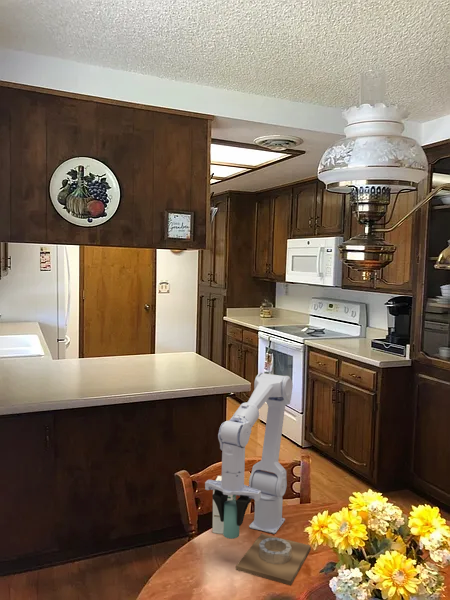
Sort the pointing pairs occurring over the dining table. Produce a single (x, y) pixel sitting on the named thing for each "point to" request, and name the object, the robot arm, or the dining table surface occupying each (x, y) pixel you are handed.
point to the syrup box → (217, 523)
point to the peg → (230, 520)
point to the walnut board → (274, 571)
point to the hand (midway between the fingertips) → (231, 522)
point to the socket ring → (275, 556)
